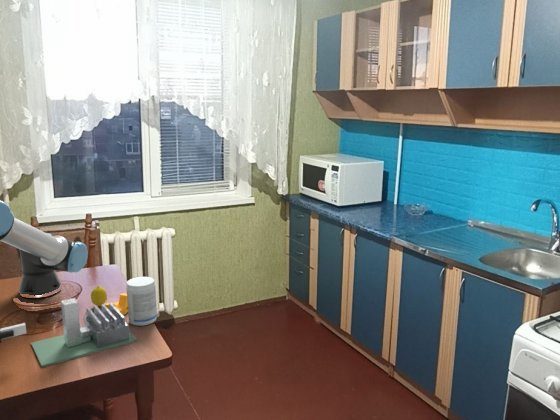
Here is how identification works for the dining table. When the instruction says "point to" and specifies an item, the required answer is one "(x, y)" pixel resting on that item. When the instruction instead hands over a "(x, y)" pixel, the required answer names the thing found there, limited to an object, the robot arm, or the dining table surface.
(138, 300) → the supplement tub
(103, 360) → the dining table surface
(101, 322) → the heatsink
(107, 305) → the pipe clamp
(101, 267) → the dining table surface
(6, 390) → the dining table surface
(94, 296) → the lemon
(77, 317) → the white upright block
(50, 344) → the board
